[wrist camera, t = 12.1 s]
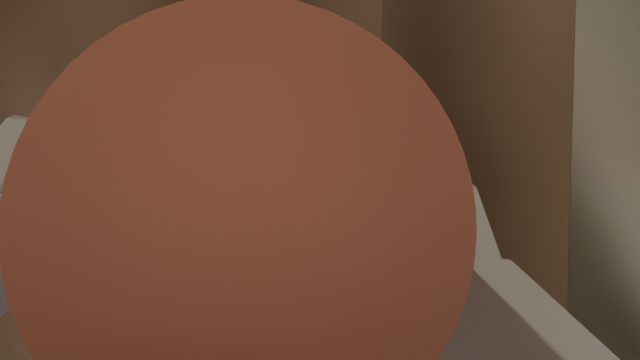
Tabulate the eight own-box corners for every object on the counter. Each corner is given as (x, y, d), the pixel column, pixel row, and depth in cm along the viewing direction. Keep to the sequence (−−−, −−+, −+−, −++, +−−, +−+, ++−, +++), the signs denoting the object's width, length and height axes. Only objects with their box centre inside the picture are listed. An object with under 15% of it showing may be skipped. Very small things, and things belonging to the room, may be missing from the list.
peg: (321, 150, 15) (484, 22, 5) (311, 299, 15) (467, 470, 5) (170, 137, 14) (24, -36, 5) (156, 292, 14) (-28, 470, 4)
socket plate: (475, 38, 20) (576, -36, 14) (458, 438, 19) (560, 539, 13) (1, -16, 18) (-118, -134, 12) (-48, 436, 17) (-206, 558, 11)
